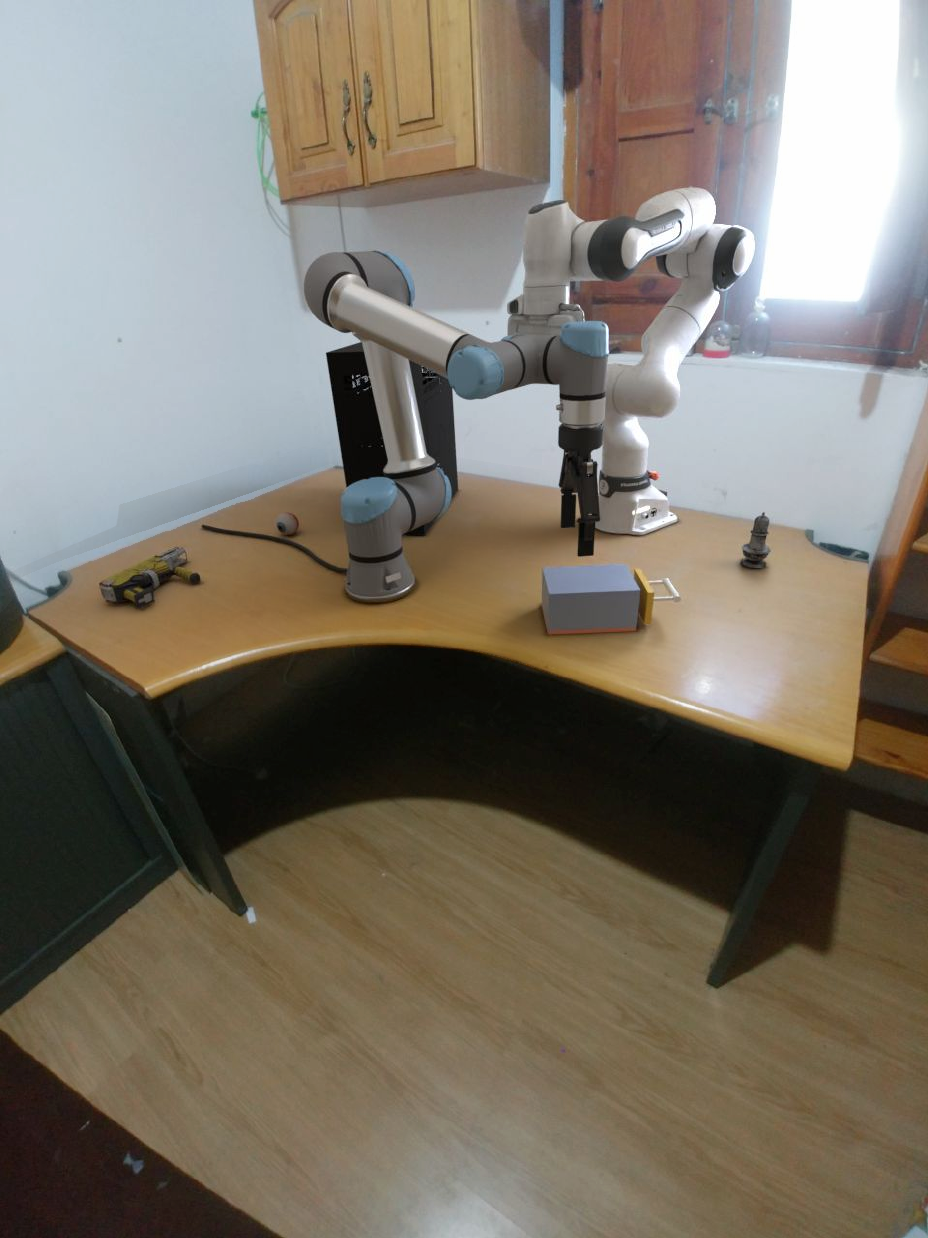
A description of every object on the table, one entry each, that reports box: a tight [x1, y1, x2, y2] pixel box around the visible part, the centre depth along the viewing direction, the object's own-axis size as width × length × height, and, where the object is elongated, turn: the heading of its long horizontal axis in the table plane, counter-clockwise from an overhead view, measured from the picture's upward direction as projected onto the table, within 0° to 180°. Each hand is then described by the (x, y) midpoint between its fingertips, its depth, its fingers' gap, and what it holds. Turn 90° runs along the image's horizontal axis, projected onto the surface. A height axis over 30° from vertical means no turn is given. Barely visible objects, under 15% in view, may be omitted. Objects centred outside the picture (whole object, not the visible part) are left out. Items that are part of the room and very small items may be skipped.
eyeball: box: [275, 511, 300, 536], centre depth 163 cm, size 6×6×6 cm
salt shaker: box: [739, 511, 772, 569], centre depth 132 cm, size 6×6×12 cm
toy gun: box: [98, 546, 201, 609], centre depth 140 cm, size 5×24×15 cm
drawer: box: [633, 568, 682, 626], centre depth 116 cm, size 21×10×7 cm, turn 90°
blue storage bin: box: [541, 563, 640, 635], centre depth 116 cm, size 16×11×9 cm
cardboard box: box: [325, 341, 459, 536], centre depth 166 cm, size 38×20×45 cm, turn 167°
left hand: (576, 540), depth 112 cm, fingers open, 13 cm apart
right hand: (545, 380), depth 122 cm, fingers open, 8 cm apart
